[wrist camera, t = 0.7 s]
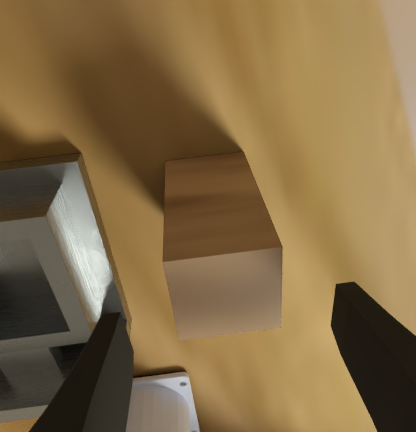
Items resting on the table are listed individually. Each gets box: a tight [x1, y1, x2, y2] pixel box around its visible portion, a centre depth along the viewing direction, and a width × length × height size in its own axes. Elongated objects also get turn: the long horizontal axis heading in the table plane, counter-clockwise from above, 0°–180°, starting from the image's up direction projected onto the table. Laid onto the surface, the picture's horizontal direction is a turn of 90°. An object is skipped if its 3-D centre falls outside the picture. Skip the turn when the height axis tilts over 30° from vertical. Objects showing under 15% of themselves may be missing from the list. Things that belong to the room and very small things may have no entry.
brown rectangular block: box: [163, 152, 282, 341], centre depth 17 cm, size 4×4×8 cm
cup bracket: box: [0, 153, 132, 423], centre depth 19 cm, size 12×10×6 cm
